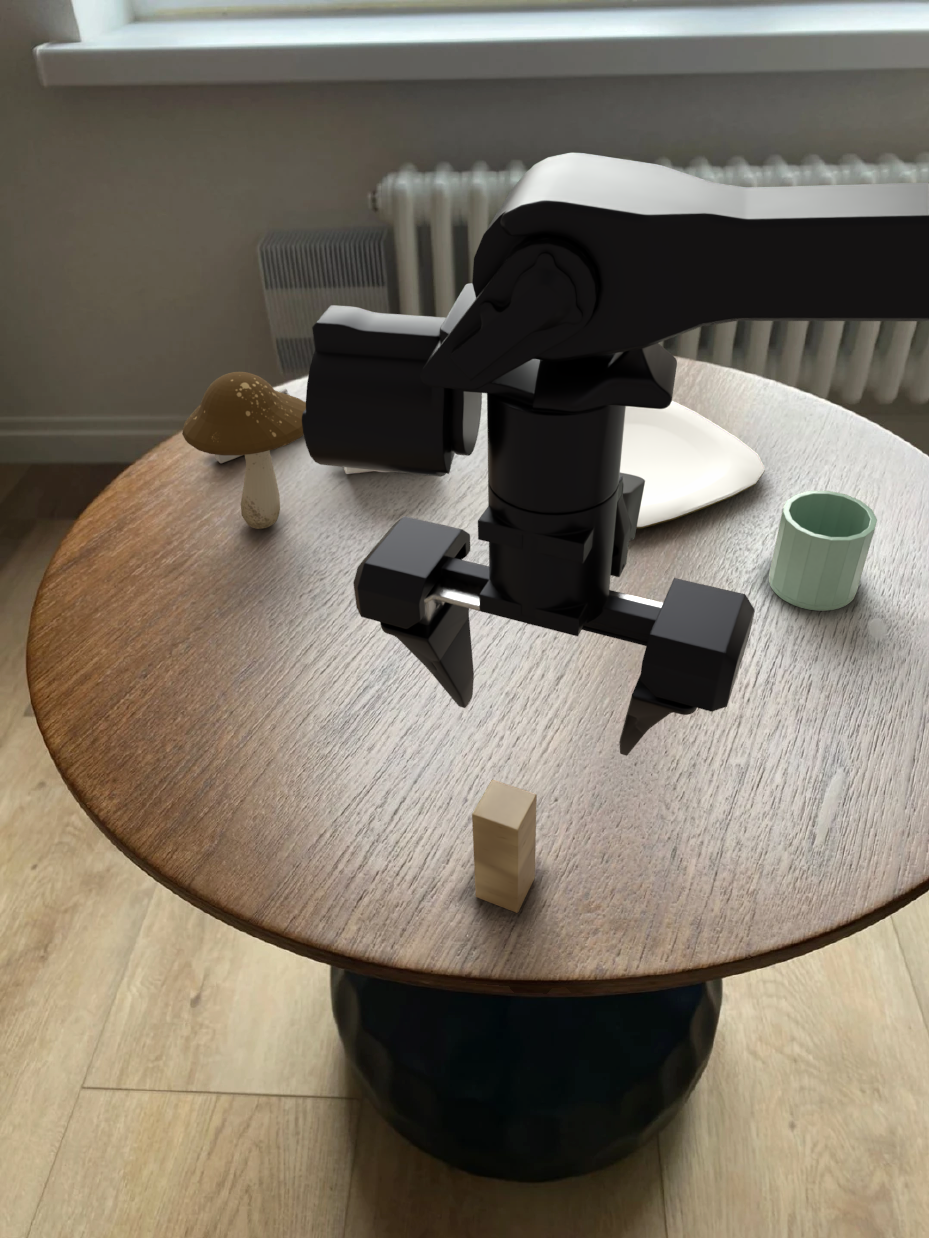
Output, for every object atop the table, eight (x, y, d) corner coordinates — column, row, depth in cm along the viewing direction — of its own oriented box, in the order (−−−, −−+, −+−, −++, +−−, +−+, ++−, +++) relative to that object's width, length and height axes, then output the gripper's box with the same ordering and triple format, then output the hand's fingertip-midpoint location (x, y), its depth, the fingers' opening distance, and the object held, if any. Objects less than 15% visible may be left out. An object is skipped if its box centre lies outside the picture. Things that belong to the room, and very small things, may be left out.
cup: (861, 570, 82) (882, 501, 77) (849, 619, 77) (869, 548, 73) (778, 551, 84) (793, 483, 80) (760, 598, 80) (775, 528, 75)
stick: (535, 877, 60) (537, 793, 55) (517, 913, 58) (517, 830, 53) (493, 861, 61) (491, 778, 56) (475, 897, 59) (471, 814, 54)
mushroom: (338, 538, 88) (316, 388, 78) (211, 562, 86) (173, 410, 76) (321, 487, 95) (299, 342, 85) (203, 508, 93) (167, 362, 83)
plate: (479, 450, 99) (479, 436, 98) (649, 396, 107) (650, 381, 106) (605, 557, 84) (606, 541, 83) (790, 485, 92) (793, 469, 91)
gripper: (801, 430, 45) (746, 674, 55) (436, 367, 51) (448, 597, 61) (756, 565, 37) (702, 820, 47) (332, 472, 43) (364, 716, 53)
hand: (543, 724), depth 52 cm, fingers open, 9 cm apart
